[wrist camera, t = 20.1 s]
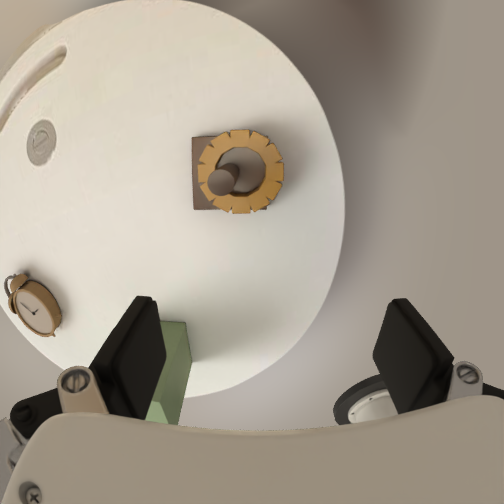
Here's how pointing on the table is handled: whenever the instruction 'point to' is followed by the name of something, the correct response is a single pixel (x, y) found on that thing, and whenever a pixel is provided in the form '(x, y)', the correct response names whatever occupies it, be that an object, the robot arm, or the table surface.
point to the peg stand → (226, 173)
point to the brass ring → (266, 188)
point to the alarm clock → (33, 305)
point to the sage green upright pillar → (171, 375)
